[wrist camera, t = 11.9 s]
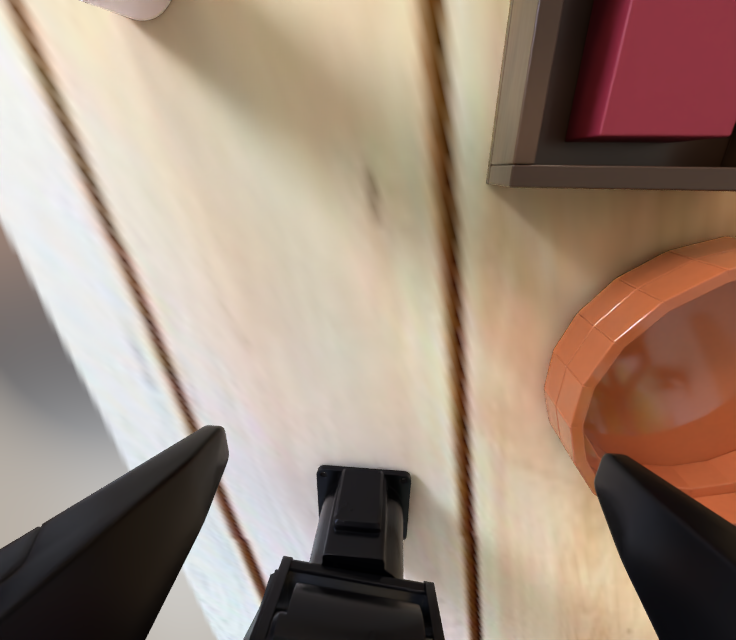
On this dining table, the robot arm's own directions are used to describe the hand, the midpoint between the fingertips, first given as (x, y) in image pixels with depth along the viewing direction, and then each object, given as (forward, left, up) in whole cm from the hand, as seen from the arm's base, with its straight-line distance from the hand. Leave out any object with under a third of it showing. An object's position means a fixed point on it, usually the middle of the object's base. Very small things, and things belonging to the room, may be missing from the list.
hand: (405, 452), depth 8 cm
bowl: (-4, -16, -12) cm, 20 cm away
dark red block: (+11, -9, -12) cm, 18 cm away
